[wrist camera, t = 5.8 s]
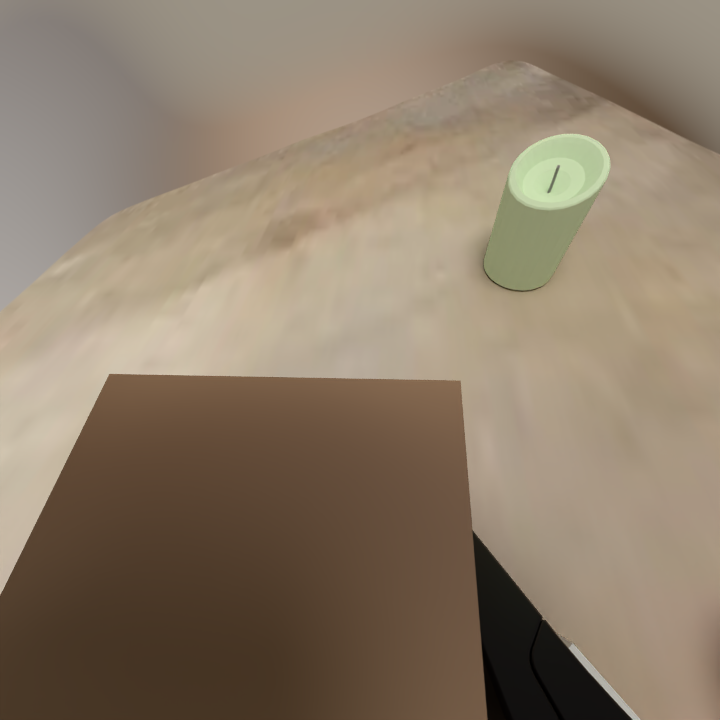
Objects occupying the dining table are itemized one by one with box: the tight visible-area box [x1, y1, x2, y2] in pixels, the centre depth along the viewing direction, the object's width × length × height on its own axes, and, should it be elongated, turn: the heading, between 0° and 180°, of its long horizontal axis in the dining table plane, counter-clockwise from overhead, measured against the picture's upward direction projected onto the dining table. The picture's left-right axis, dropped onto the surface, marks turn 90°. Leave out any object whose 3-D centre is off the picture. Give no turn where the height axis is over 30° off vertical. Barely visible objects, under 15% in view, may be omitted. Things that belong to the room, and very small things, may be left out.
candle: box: [484, 134, 610, 291], centre depth 22 cm, size 5×5×8 cm
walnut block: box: [0, 374, 487, 720], centre depth 9 cm, size 5×5×12 cm
